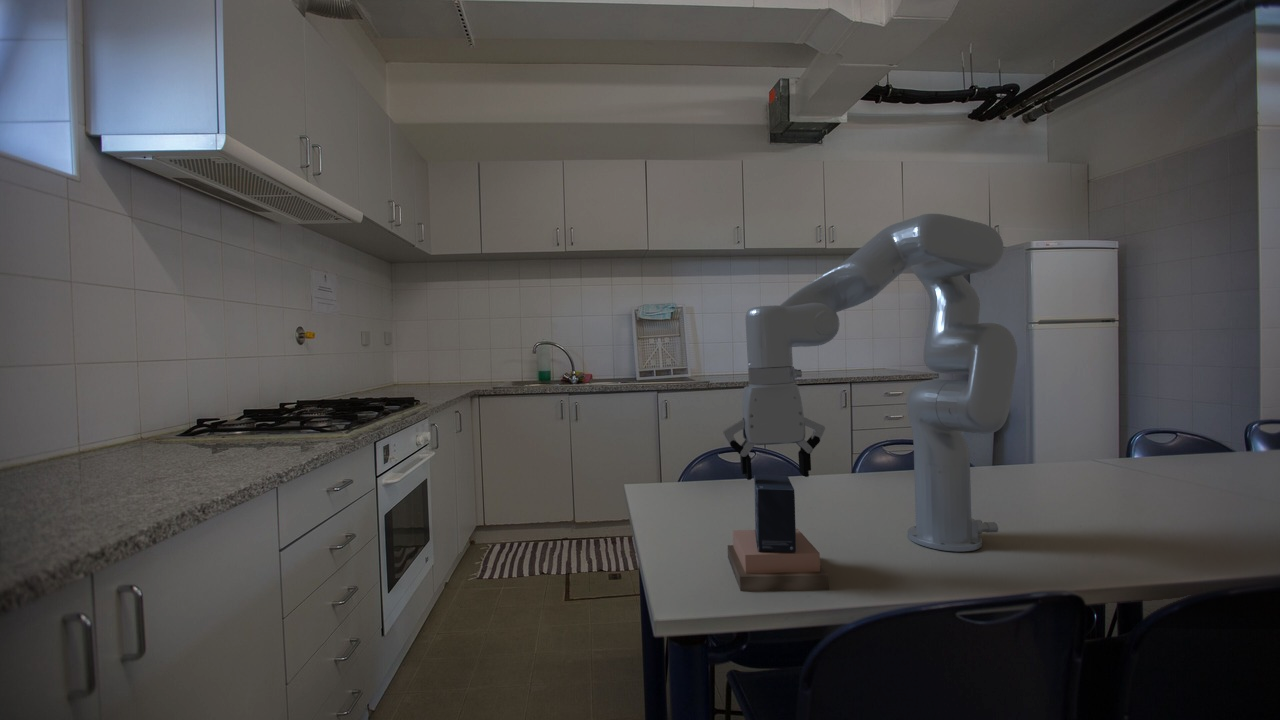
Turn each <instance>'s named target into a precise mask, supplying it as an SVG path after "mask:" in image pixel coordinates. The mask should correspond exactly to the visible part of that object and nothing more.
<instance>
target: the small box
mask: <svg viewBox="0 0 1280 720" xmlns="http://www.w3.org/2000/svg"><path fill="white" fill-rule="evenodd" d="M753 480H754V521H755V522H754V523H755V525H754V528H755V529H754V530H755V534H756V543H757V549H758V551H773V552H796V529H797V528H796V526H797V525H796V499H795V498H796V497H795V495H796V494H795V488H794V486H793V485H792V482H791V481H790V478H789V475H775V474H774V475H770V474H768V475H767V474H754V475H753Z"/></svg>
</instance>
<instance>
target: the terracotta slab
mask: <svg viewBox="0 0 1280 720" xmlns="http://www.w3.org/2000/svg"><path fill="white" fill-rule="evenodd" d="M732 545H733V547H734V549H735V552H736V554H737V556H738V558H739V560H740V562H741V564H742V567H743V569H744V571H745V573H783V572H820V565H821V558H820V556H821V554H820V552H819V550H817V549H816V547H815V546H814V545H813V544H812V543H811V541H810V540H808V539H807V537H806V536H805V535H804V534H803V532H801V530H800V529H798V528H796V552H773V551H758V549H757V543H756V534H755V529H740V530H739V529H734V530H732Z"/></svg>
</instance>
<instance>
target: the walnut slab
mask: <svg viewBox="0 0 1280 720" xmlns="http://www.w3.org/2000/svg"><path fill="white" fill-rule="evenodd" d="M727 559H728V562H729V564H730V566H731V569H732V573H733V575H734V577H735V581H736V582H737V585H738V588H739V592H762V591H764V592H765V591H769V592H771V591H815V590H816V591H817V590H818V591H823V590H829V591H830V581H829V580H830V575H829V574H828V572H826V570H825V569H824V568H823V566H822V565H821V564H820V572H783V573H745V571H744V569H743V567H742V564H741V562H740V560H739V558H738V556H737V554H736V552H735V549H734V547H733V544H732V545H730V544H729V545H727Z"/></svg>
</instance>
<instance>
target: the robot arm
mask: <svg viewBox="0 0 1280 720" xmlns="http://www.w3.org/2000/svg"><path fill="white" fill-rule="evenodd" d="M1003 254H1004V241H1003V239H1002V237H1001V235H1000V233H999V232H998V231H997V230H996V229H995V228H993V227H992V226H991V225H987V224H986V223H982V222H978V221H974V220H970V219H966V218H961V217H956V216H953V215H950V214H949V215H948V214H941V213H925V214H921V215H918V216H915V217H912V218H909V219H906V220H903V221H902V220H901V221H899V222H896V223H893V224H891V225H889V226H887V227H885V228H883V229H882V230H881V231H879V232H878V233H877V234H875V236H873V237H872V238H871V239H869V240H868V241H867V242H866V243H864V244H863V245H862V247H860V248H858V249H857V250H856V251H855V252H853V254H851V255H850V256H849V257H848V258H847V259H845V260H844V261H843V262H842V263H840V264H839V265H837V266H836V267H833V268H832V269H830V270H828V271H827V272H825V273H824V274H823V275H821V276H820V277H818V278H816V279H815V280H813V281H811V282H810V283H807V285H805V286H803V287H801V288H800V289H799V290H798V291H796V292H794V293H793V294H792V295H791V296H789V297H788V298H787V299H786V300H785V301H783V302H782V303H780V304H779V305H762V306H755V307H752V308H750V309H748V310H747V311H746V313H745V336H746V353H747V354H746V357H747V370H748V374H747V375H748V386H747V385H746V386H744V387H743V393H742V394H743V396H742V408H741V409H742V411H741V417H742V419H741V420H739V421H736V423H734V424H733V425H730V426H729V427H727V428H725V429H724V430H723V431H722V434H723V436H724V438H725V440H726V441H727V442H728V444H729V446H730V447H731V448H732V449H733V450H734V451H736V452H737V454H739V456H740V458H739V460H740V472H741V474H742V475H744V477H745V478H746V480H747V481H751V480H752V479H753V475H752V474H753V473H752V458H751V456H750V454H749V453H750V452H751V451H752V450H753V448H754V446H767V445H769V446H770V445H786V444H787V445H788V444H796V445H797V446H798V447H799V448H800V449H799V450H798V453H797V455H798V471H799V474H801V475H802V476H803V477H805V478H809V476H810V474H809V473H810V472H811V471H812V463H811V461H812V460H811V453H813V451H814V449H815V448H816V447H817V446H818V445H819V443H820V442H821V438H822V436H823V434H824V432H825V430H826V427H825V426H824V425H823V424H820V423H818V422H816V421H814V420H811V419H809V418H807V417H805V414H804V409H803V403H802V397H801V393H800V389H799V386H798V384H795V382H796V381H795V380H796V379H797V378H802V375H803V372H802V369H797V368H795V366H794V364H793V363H794V361H793V348H797V347H798V348H799V347H800V348H802V347H804V348H807V347H818V346H823V345H825V344H827V343H830V341H832V340H833V339H835V337H836V336H837V334H838V332H839V330H840V317H839V316H838V314H837V313H838V312H839V313H840V312H842V311H844V310H848V309H850V308H851V309H852V308H853V307H856V306H859V305H861V304H864V303H865V302H867V301H869V300H872V299H873V298H875V297H877V295H878V294H880V293H881V292H882V291H883V290H884V289H885V288H886V287H887V286H888V285H890V283H892V282H893V281H894V280H895V279H897V278H898V277H899V276H900V275H901V274H902V273H903V272H904V271H905V270H907V269H909V268H911V270H912V272H913V274H914V275H915V277H916V278H917V279H918V280H919V281H920V282H921V284H922V285H923V287H924V289H925V290H926V292H927V295H928V298H929V304H930V305H929V315H928V322H927V327H926V333H925V339H924V340H925V341H924V347H923V362H924V364H925V366H926V367H927V369H929V370H930V371H932V372H935V373H939V374H945V375H946V374H948V375H950V374H951V375H968V378H967V379H968V380H958V379H928V380H923V381H920V382H918V383H917V384H915V385H914V386H912V388H911V389H910V390H909V392H908V394H907V398H906V409H907V410H906V411H907V414H908V419H909V423H910V427H911V432H912V433H911V434H912V441H913V442H912V443H913V465H914V466H913V470H914V471H913V473H914V502H915V503H914V505H915V506H914V507H915V508H914V509H915V525H914V526H911V527H909V528H908V529H907V538H908V539H909V540H910V541H912V542H914V544H918V545H920V546H923V547H926V548H929V549H933V550H940V551H945V552H960V553H961V552H973V551H976V550H979V549H980V548H982V546H983V539H982V538H981V537H980V536H979V535H982V533H998V531H999V526H998V523H997V522H995V521H985V522H983V520H981V519H974V518H973V517H972V493H971V492H972V491H971V489H972V488H971V455H970V449H969V446H968V443H967V440H966V439H965V437H964V435H963V433H962V432H964V433H972V434H979V435H980V434H981V435H988V434H993V433H995V432H997V431H999V430H1000V429H1002V427H1003V426H1004V425H1005V423H1006V421H1007V419H1008V416H1009V413H1010V407H1011V402H1012V396H1013V389H1014V384H1015V383H1014V382H1015V377H1016V369H1017V362H1018V347H1017V342H1016V340H1015V337H1014V335H1013V334H1012V332H1011V331H1010V329H1008V328H1007V327H1005V326H1004V325H1001V324H999V323H993V322H980V323H979V319H980V310H981V309H980V307H981V303H980V301H981V300H980V297H979V296H978V293H977V291H976V290H975V288H974V287H973V286H972V285H971V283H970V282H968V280H967V278H965V277H964V276H965V275H971V274H978V273H983V272H985V271H988V270H990V269H992V268H994V267H995V266H997V264H998V263H999V262H1000V261H1001V259H1002V257H1003ZM806 427H807V428H810V429H811V430H813V432H812V435H810V437H809V438H808V439H807V440H805V439H806ZM740 431H741V433H742V438H743V439H744V440H743V442H742V443H741V444H740V443H739V442H737V441H736V438H735V434H737V433H738V432H740ZM809 471H810V472H809Z"/></svg>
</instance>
